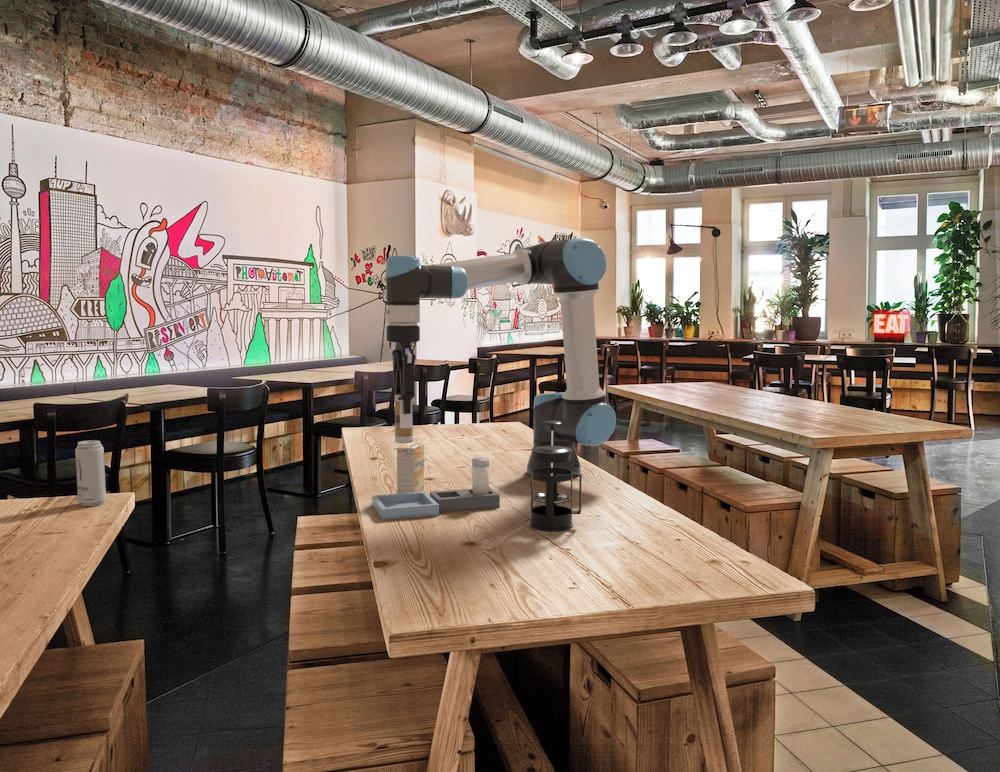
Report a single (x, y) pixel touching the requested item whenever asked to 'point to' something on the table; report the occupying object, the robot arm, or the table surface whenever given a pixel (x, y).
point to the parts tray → (405, 505)
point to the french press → (552, 488)
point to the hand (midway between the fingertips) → (403, 426)
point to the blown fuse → (400, 433)
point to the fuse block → (465, 500)
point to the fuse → (480, 476)
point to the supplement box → (410, 468)
